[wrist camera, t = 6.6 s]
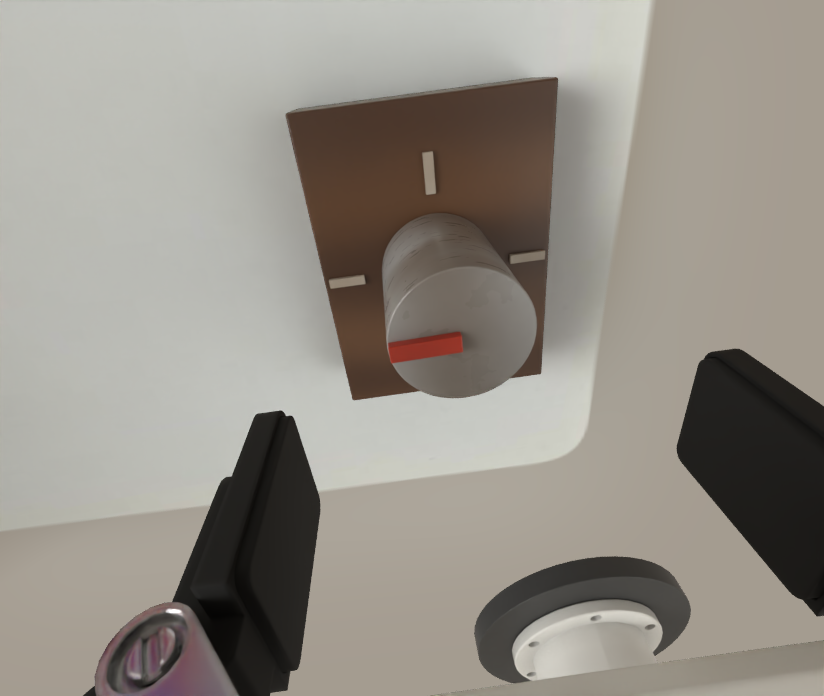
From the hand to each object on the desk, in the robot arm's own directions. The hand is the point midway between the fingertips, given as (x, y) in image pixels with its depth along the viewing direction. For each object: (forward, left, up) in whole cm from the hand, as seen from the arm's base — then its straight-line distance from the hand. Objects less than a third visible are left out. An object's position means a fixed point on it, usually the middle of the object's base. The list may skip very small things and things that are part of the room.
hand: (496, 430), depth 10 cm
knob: (+1, 0, -9) cm, 9 cm away
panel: (+1, 0, -11) cm, 11 cm away
